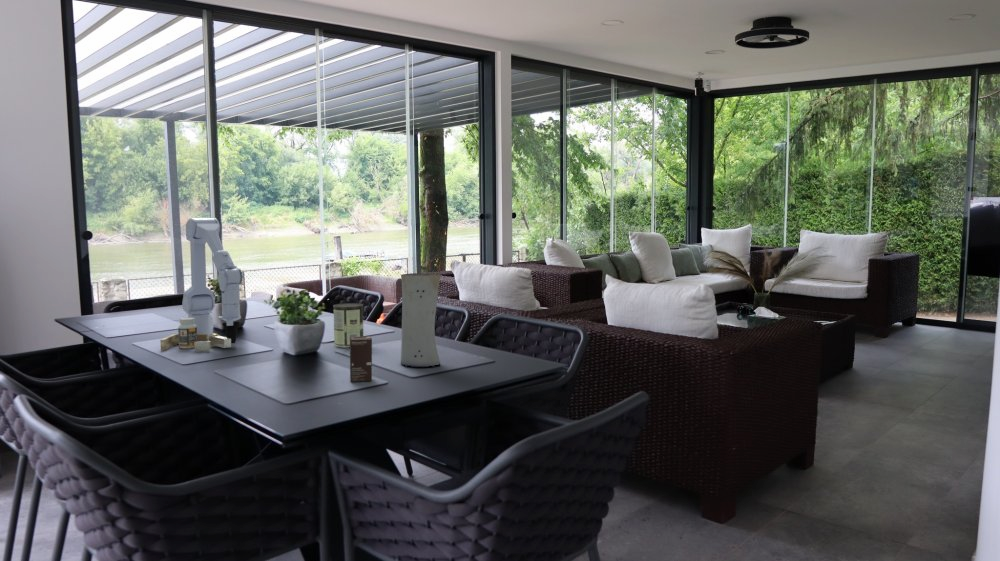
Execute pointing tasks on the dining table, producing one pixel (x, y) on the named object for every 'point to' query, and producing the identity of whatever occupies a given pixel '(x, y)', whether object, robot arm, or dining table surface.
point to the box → (360, 359)
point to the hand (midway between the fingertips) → (231, 343)
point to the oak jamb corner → (174, 340)
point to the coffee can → (347, 323)
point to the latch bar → (220, 341)
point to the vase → (419, 319)
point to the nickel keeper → (202, 346)
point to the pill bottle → (187, 333)
